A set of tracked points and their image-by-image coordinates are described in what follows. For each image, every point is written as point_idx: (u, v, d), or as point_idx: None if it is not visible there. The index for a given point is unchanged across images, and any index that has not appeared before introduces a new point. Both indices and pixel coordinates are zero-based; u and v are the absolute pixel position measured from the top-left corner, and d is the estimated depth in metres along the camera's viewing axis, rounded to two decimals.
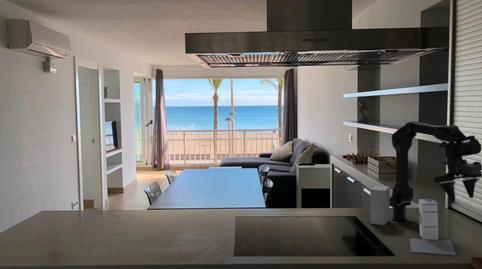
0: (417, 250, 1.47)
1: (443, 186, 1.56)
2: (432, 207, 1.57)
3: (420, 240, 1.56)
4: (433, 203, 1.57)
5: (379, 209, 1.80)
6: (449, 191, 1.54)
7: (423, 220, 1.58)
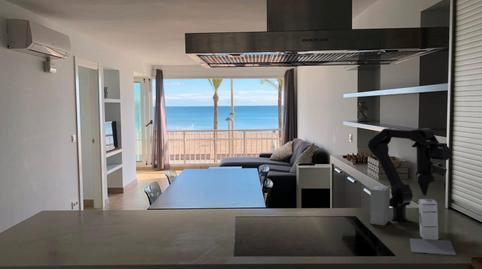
0: (417, 250, 1.47)
1: (420, 182, 1.74)
2: (432, 207, 1.57)
3: (420, 240, 1.56)
4: (433, 203, 1.57)
5: (379, 209, 1.80)
6: (424, 187, 1.74)
7: (423, 220, 1.58)
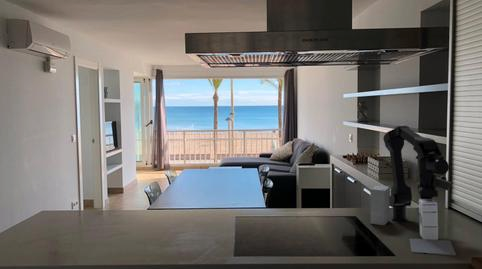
0: (417, 250, 1.47)
1: (423, 197, 1.64)
2: (432, 207, 1.57)
3: (420, 240, 1.56)
4: (433, 203, 1.57)
5: (379, 209, 1.80)
6: None
7: (423, 220, 1.58)
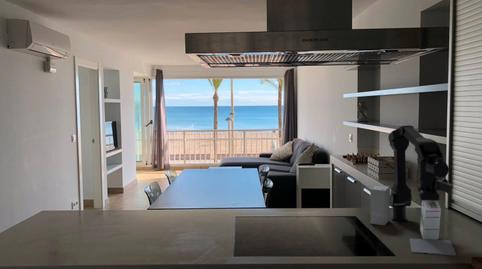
0: (417, 250, 1.47)
1: None
2: (435, 213, 1.53)
3: (420, 240, 1.56)
4: (437, 210, 1.52)
5: (379, 209, 1.80)
6: None
7: (425, 224, 1.56)
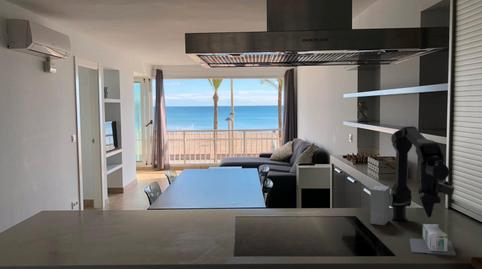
0: (417, 250, 1.47)
1: (424, 203, 1.55)
2: None
3: (420, 240, 1.56)
4: (443, 250, 1.45)
5: (379, 209, 1.80)
6: (429, 208, 1.55)
7: None
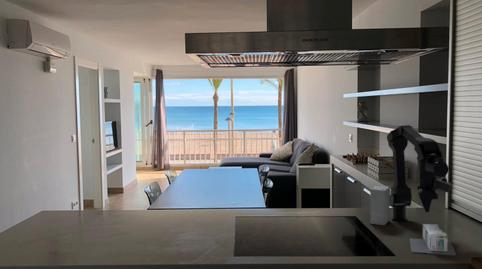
0: (417, 250, 1.47)
1: (422, 198, 1.61)
2: None
3: (420, 240, 1.56)
4: (443, 250, 1.45)
5: (379, 209, 1.80)
6: (427, 203, 1.61)
7: None
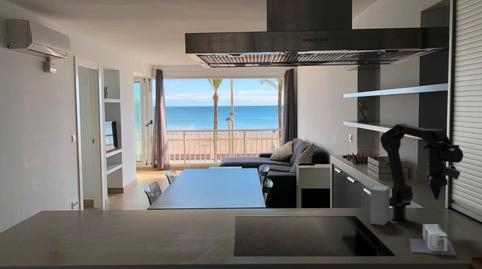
0: (417, 250, 1.47)
1: (432, 185, 1.67)
2: None
3: (420, 240, 1.56)
4: (443, 250, 1.45)
5: (379, 209, 1.80)
6: (436, 190, 1.67)
7: None
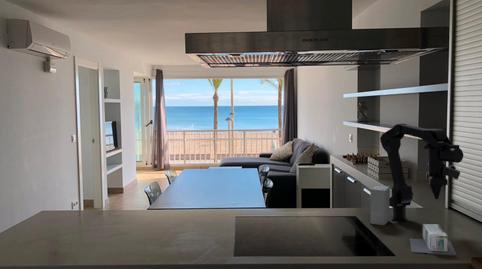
0: (417, 250, 1.47)
1: (432, 185, 1.67)
2: None
3: (420, 240, 1.56)
4: (443, 250, 1.45)
5: (379, 209, 1.80)
6: (436, 190, 1.67)
7: None
